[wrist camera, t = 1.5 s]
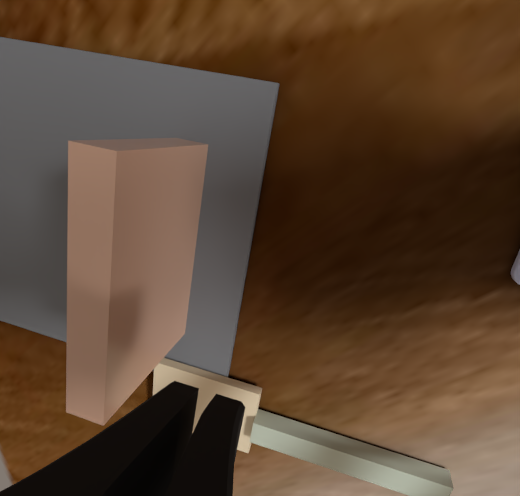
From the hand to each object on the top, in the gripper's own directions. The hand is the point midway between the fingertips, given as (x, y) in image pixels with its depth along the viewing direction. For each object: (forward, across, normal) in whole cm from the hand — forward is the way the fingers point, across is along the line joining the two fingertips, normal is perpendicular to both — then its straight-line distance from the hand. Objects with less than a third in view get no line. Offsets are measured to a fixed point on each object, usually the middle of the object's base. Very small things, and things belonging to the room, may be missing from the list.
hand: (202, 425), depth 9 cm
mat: (+11, +9, 0) cm, 14 cm away
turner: (+10, -2, +9) cm, 14 cm away
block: (+10, +5, 0) cm, 11 cm away
